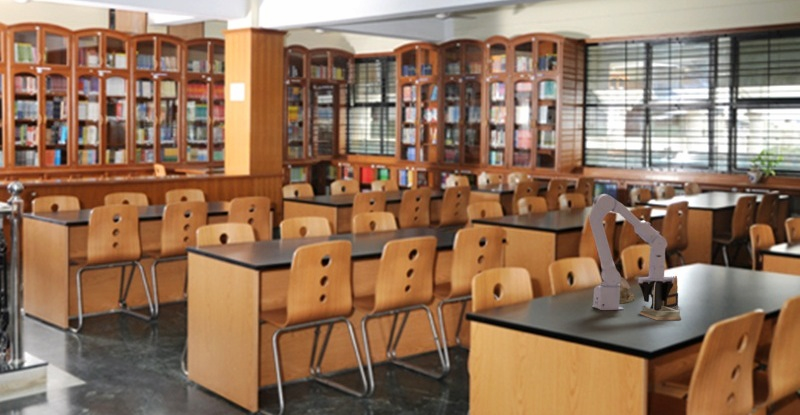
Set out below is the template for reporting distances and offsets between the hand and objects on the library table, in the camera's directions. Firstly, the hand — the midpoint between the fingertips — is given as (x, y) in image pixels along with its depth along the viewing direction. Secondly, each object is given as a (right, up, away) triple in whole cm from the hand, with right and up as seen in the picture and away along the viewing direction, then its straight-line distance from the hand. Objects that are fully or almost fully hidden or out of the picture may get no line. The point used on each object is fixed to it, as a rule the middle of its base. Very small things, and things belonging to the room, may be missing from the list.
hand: (655, 301), depth 352 cm
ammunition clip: (+8, -3, +9) cm, 12 cm away
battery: (0, -4, 0) cm, 4 cm away
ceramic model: (-10, -2, +21) cm, 23 cm away
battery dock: (-2, -4, -13) cm, 13 cm away
